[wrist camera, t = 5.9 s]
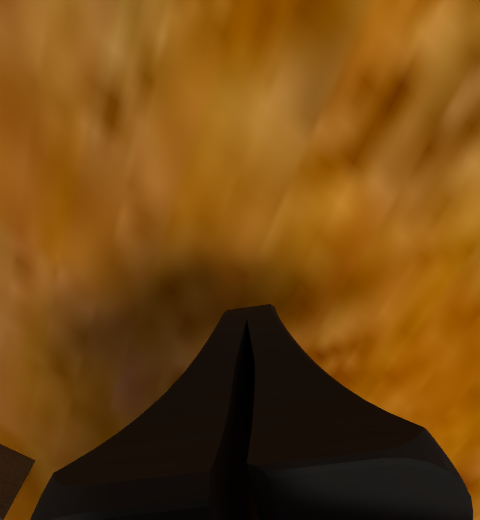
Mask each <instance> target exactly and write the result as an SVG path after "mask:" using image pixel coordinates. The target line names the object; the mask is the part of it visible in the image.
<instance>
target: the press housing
mask: <svg viewBox="0 0 480 520" xmlns="http://www.w3.org/2000/svg"><path fill="white" fill-rule="evenodd" d="M34 462H35V461H34V460H32V459H30V458H27V457H25V456H23V455H21V454H19V453H17V452H15V451H13V450H11V449H9V448H6V447H4V446H2V445H0V520H4V518H5V516H6V514H7V512H8V510H9V508H10V506H11V505H12V503H13V501H14V499H15V497H16V495H17V493H18V492H19V490H20V488H21V486H22V484H23V482H24V480H25V479H26V477H27V475H28V473H29V471H30V469H31V467H32V465H33V464H34Z"/></svg>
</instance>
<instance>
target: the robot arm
mask: <svg viewBox="0 0 480 520" xmlns="http://www.w3.org/2000/svg"><path fill="white" fill-rule="evenodd" d="M30 520H473V508H472V501H471V496H470V494H469V492H468V490H467V488H466V486H465V484H464V482H463V480H462V478H461V476H460V475H459V473H458V472H457V470H456V468H455V467H454V465H453V464H452V462H451V461H450V460H449V458H448V457H447V455H446V454H445V453H444V451H443V450H442V448H441V447H440V446H439V445H438V443H437V442H436V441H435V439H434V438H433V437H432V436H431V434H430V433H429V432H428V431H427V430H426V429H425V428H424V427H422V426H419V425H417V424H414V423H412V422H410V421H407V420H405V419H403V418H400V417H398V416H396V415H393V414H391V413H389V412H387V411H384V410H383V409H381V408H379V407H377V406H375V405H373V404H371V403H369V402H368V401H366V400H364V399H362V398H361V397H359V396H358V395H356V394H355V393H353V392H352V391H350V390H349V389H347V388H345V387H344V386H343V385H341V384H340V383H339V382H337V381H336V380H335V379H334V378H332V377H331V376H330V375H329V374H327V373H326V372H325V371H324V370H323V369H322V368H321V367H319V366H318V365H317V364H316V363H315V362H314V361H313V360H312V359H311V358H310V357H309V356H308V355H307V354H306V353H305V351H304V350H303V349H302V348H301V347H300V346H299V345H298V344H297V342H296V341H295V340H294V339H293V337H292V336H291V335H290V333H289V332H288V331H287V329H286V328H285V326H284V325H283V323H282V322H281V320H280V318H279V317H278V315H277V312H276V310H275V307H274V306H272V305H271V304H268V305H261V306H254V307H247V308H240V309H233V310H226V312H225V313H224V314H223V316H222V317H221V319H220V321H219V323H218V324H217V326H216V328H215V329H214V331H213V333H212V334H211V336H210V337H209V339H208V340H207V342H206V343H205V345H204V346H203V348H202V349H201V351H200V352H199V354H198V355H197V357H196V358H195V359H194V360H193V362H192V363H191V364H190V366H189V367H188V368H187V370H186V371H185V372H184V373H183V375H182V376H181V377H180V378H179V379H178V380H177V382H176V383H175V384H174V385H173V386H172V387H171V388H170V389H169V390H168V391H167V392H166V393H165V394H164V395H163V396H162V397H161V398H160V399H159V400H158V401H156V402H155V403H154V404H153V405H152V406H151V407H150V408H148V409H147V410H146V411H145V412H144V413H143V414H141V415H140V416H139V417H138V418H137V419H136V420H134V421H133V422H132V423H131V424H129V425H128V426H127V427H125V428H124V429H123V430H121V431H120V432H119V433H117V434H116V435H114V436H113V437H111V438H110V439H109V440H107V441H106V442H104V443H103V444H101V445H100V446H98V447H97V448H95V449H94V450H92V451H90V452H89V453H87V454H85V455H84V456H82V457H80V458H79V459H77V460H75V461H74V462H72V463H70V464H69V465H67V466H65V467H64V468H62V469H60V470H58V471H56V472H55V473H53V475H52V477H51V479H50V480H49V482H48V484H47V486H46V488H45V490H44V491H43V493H42V495H41V497H40V499H39V502H38V504H37V506H36V508H35V510H34V513H33V515H32V517H31V519H30Z"/></svg>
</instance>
